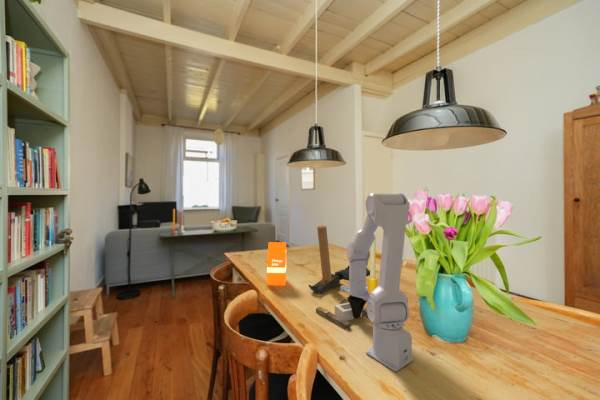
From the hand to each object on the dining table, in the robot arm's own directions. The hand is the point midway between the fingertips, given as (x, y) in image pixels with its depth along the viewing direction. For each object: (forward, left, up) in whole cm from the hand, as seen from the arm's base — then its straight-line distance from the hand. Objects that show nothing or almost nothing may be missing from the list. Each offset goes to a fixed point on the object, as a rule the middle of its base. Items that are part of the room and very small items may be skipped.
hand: (356, 317), depth 90 cm
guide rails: (+6, 0, -1) cm, 6 cm away
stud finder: (+4, 0, -1) cm, 4 cm away
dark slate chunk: (+37, -39, -2) cm, 54 cm away
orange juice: (+49, +3, -1) cm, 49 cm away
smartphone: (+12, -27, -2) cm, 30 cm away
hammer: (+29, -12, -1) cm, 32 cm away
